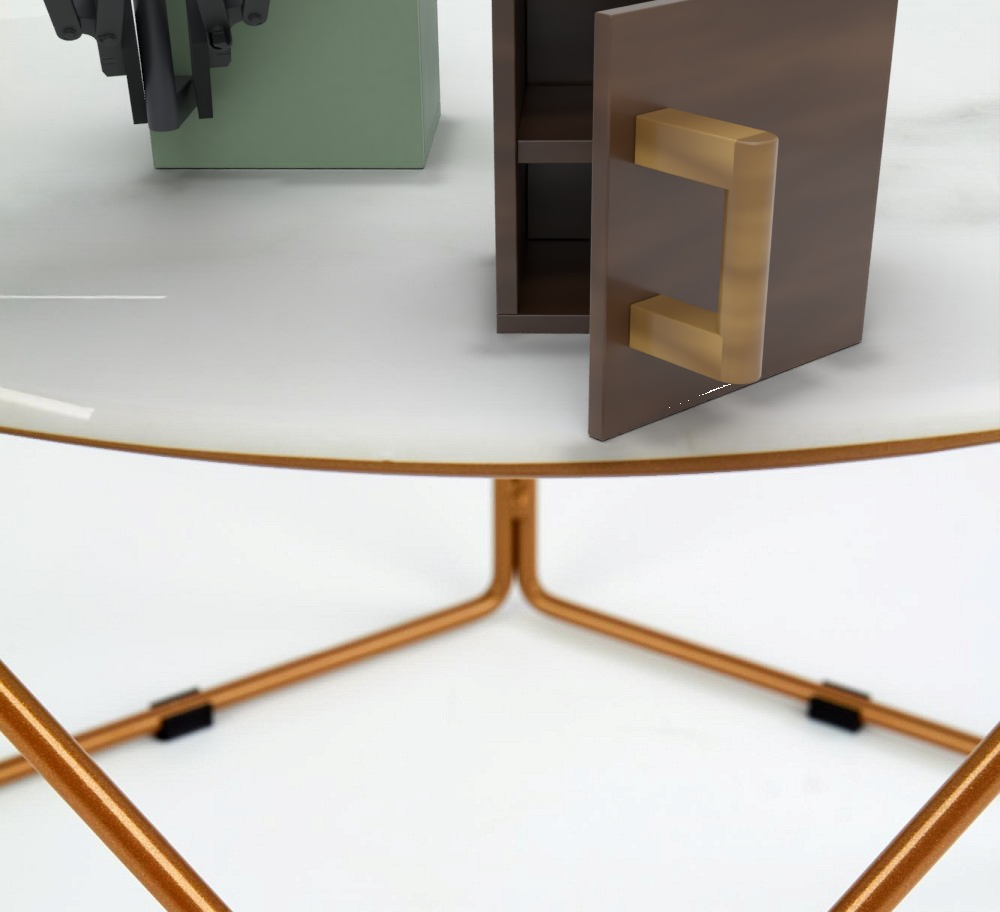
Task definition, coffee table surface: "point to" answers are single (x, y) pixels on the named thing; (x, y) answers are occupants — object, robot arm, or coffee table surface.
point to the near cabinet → (544, 162)
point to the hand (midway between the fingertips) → (169, 97)
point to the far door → (289, 88)
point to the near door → (729, 194)
